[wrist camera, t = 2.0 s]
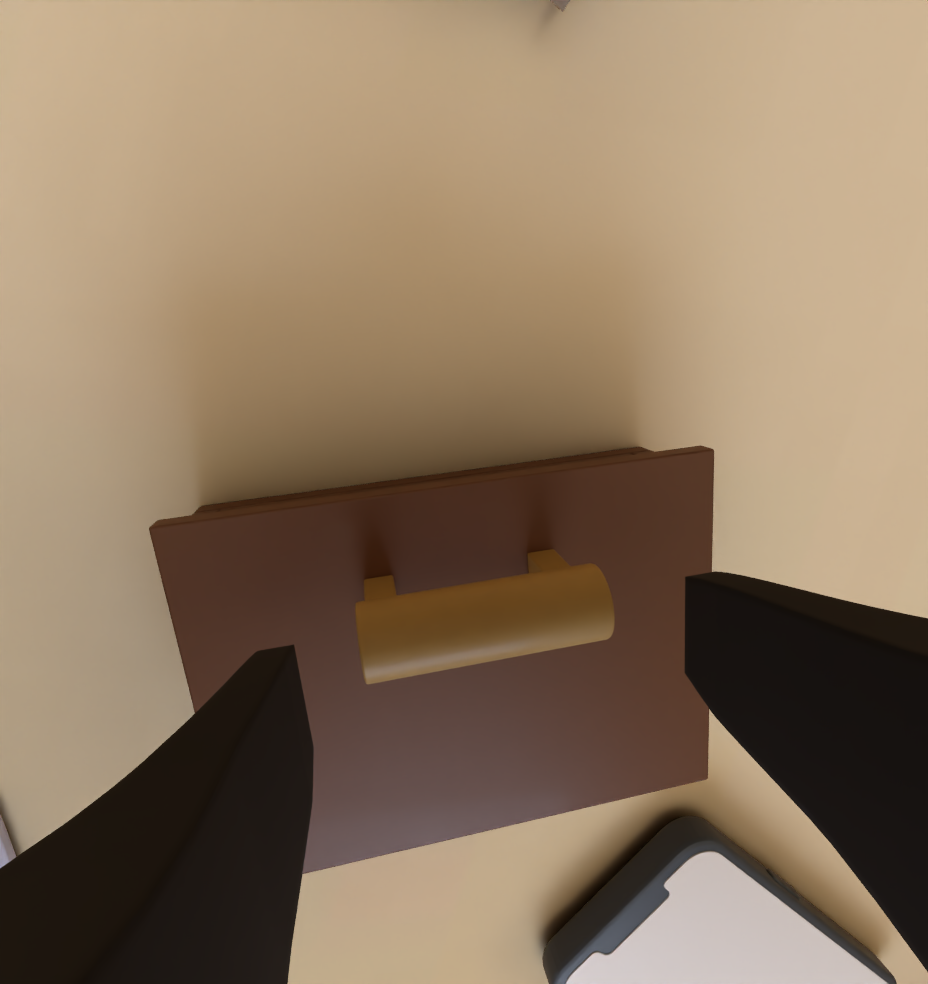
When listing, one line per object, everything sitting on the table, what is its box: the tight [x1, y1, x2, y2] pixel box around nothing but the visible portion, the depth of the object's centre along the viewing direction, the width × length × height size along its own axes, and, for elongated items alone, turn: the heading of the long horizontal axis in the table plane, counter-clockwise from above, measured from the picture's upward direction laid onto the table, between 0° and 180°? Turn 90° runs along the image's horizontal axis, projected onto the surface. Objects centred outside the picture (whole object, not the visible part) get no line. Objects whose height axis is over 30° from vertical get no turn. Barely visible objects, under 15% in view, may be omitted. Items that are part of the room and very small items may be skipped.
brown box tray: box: [193, 447, 654, 515], centre depth 17 cm, size 9×13×3 cm
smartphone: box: [543, 816, 897, 984], centre depth 24 cm, size 9×2×16 cm
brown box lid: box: [149, 446, 714, 874], centre depth 14 cm, size 10×13×4 cm
